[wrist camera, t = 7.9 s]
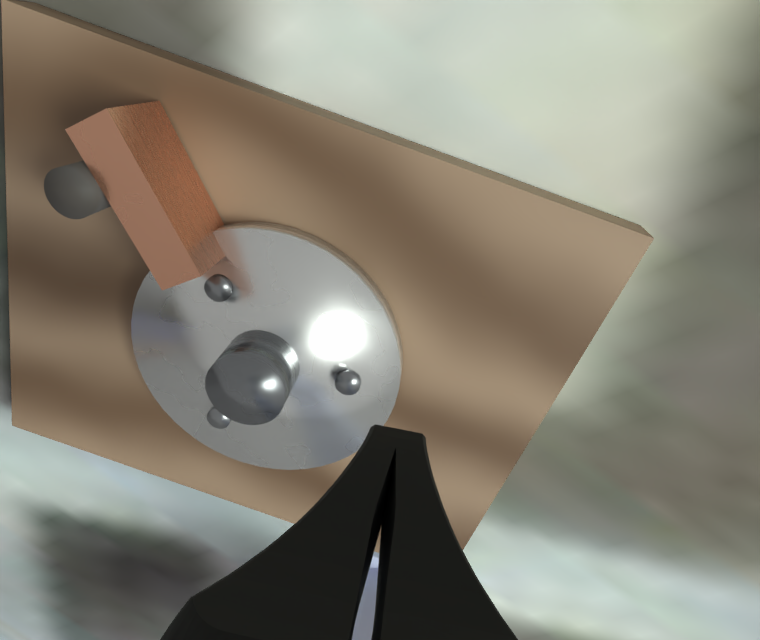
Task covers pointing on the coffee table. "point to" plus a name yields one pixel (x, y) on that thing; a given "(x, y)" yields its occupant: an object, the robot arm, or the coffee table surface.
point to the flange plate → (242, 309)
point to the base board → (307, 213)
